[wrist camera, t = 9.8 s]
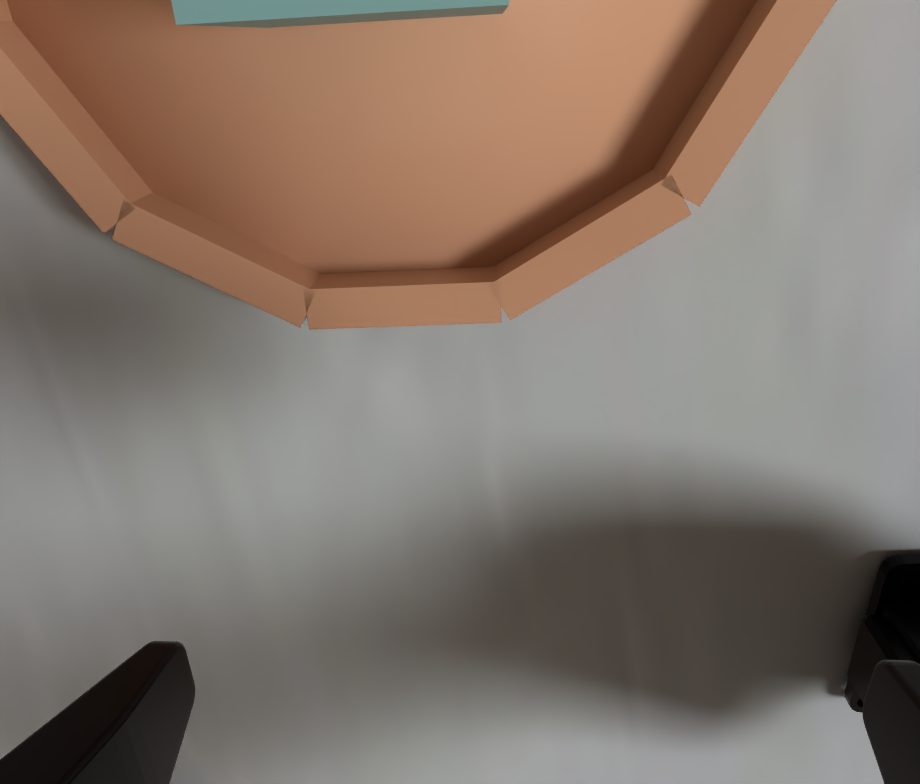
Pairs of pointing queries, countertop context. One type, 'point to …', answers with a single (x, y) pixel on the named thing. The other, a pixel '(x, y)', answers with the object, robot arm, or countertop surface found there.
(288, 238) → the dish
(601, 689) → the countertop surface
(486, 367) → the countertop surface
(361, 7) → the block
